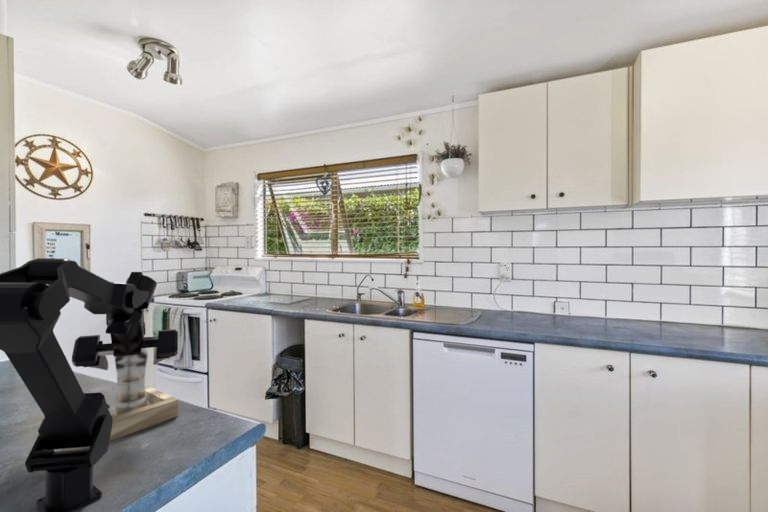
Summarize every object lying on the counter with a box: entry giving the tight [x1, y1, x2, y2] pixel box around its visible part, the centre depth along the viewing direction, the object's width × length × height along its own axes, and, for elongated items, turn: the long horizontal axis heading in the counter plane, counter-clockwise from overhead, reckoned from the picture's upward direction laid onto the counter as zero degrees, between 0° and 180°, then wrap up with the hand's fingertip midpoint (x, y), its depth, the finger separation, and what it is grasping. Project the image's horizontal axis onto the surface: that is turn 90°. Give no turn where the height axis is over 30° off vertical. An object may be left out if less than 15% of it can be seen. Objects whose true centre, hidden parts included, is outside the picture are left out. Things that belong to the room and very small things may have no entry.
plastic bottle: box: [112, 348, 149, 416], centre depth 84 cm, size 6×7×20 cm
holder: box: [109, 385, 179, 442], centre depth 84 cm, size 14×14×4 cm
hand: (131, 365), depth 85 cm, fingers open, 9 cm apart
